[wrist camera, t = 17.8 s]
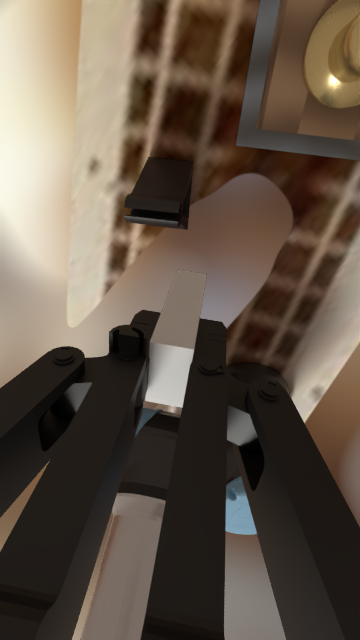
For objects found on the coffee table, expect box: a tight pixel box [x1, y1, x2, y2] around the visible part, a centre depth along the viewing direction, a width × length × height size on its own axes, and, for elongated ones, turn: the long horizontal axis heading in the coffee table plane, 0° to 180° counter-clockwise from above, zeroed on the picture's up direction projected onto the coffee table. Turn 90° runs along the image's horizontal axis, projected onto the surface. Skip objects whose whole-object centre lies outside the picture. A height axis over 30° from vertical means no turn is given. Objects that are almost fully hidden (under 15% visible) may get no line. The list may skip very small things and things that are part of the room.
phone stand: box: [124, 157, 193, 230], centre depth 40 cm, size 9×6×12 cm, turn 176°
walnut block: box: [236, 0, 360, 161], centre depth 32 cm, size 16×16×10 cm
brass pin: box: [302, 0, 360, 109], centre depth 27 cm, size 8×8×16 cm
